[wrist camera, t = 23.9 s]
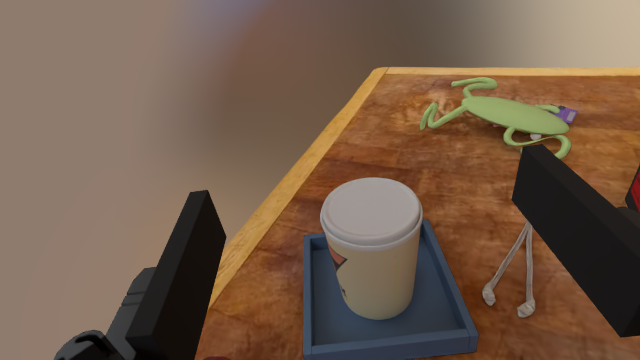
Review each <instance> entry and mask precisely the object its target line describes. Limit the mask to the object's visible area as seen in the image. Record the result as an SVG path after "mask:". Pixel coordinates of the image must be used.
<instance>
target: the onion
mask: <svg viewBox="0 0 640 360" xmlns="http://www.w3.org/2000/svg"><path fill="white" fill-rule="evenodd" d="M203 360H230V359H229V358H226V357H207V358H205V359H203Z"/></svg>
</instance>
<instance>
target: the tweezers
mask: <svg viewBox="0 0 640 360" xmlns="http://www.w3.org/2000/svg"><path fill="white" fill-rule="evenodd" d="M532 230H533V226H532V225H531V224H530V223H529V221H528V220H527V222H526V224H525V226H524V228H523V230H522V232H521V233H520V236H519V237H518V239H517V241H516V243H515V244H514V246H513V247H512V249H511V250H510V252H509V253H508V255H507V256H506V258H505V259H504V261H503V262H502V264H501V265H500V267H499V269H498V271H497V273H496V274H495V276H494V277H493V279H492V280H491V281H490V282H489V283H487V284H486V285H485V287H484V289H483V293H482V294H483V298H484V300H485V302H486V303H487V304H488V305H490V306H492V305H493V303H494V302H495V301H496V299H495V296H494V293H493V291H492V290H493V289H494V287H495V285H496V284H497V282H498V280H499V279H500V278H501V276H502V275H503V273H504V271H505V269H506V267H507V266H508V264H509V263H510V261H511V260H512V258H513V256H514V255H515V253H516V252H517V250H518V249H519V247H520V245H521V243H522V242H523V240H524V238H525V236H526V233H527V238H526V257H527V279H526V289H527V291H526V302H525V303H524V304H522V305H521V306H520V307H517V310H518V316H519V317H526V316H529V315H531V314H532V313H533V310H535V300H534V298H533V290H532V278H533V262H532ZM497 275H498V276H497ZM496 276H497V277H496ZM495 277H496V279H495ZM494 279H495V280H494ZM530 286H531V293H530Z"/></svg>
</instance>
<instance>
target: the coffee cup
mask: <svg viewBox="0 0 640 360" xmlns="http://www.w3.org/2000/svg"><path fill="white" fill-rule="evenodd" d="M320 219H321V225H322V228H323V230H324V232H325V235H326V239H327V243H328V246H329V250H330V254H331V257H332V261H333V264H334V268H335V271H336V275H337V279H338V282H339V286H340V289H341V292H342V295H343V298H344V301H345V302H346V304H347V305H348V307H349V308H350V309H351V310H352V311H353V312H355V313H356V314H358V315H359V316H362V317H364V318H368V319H373V320H384V319H389V318H392V317H395V316H397V315H398V314H400V313H401V312H403V311H404V310H405V309H406V308H407V306H408V305H409V303H410V301H411V299H412V295H413V289H414V281H415V272H416V264H417V255H418V246H419V237H420V226H421V224H422V220H423V209H422V205H421V203H420V201H419V200H418V198H417V196H416V195H415V193H414V192H413V191H412V190H411V189H410V188H408V187H407V186H405V185H404V184H402V183H400V182H397V181H394V180H391V179H386V178H362V179H357V180H353V181H350V182H347V183H345V184H343V185H341V186H339V187H337V188H336V189H335V190H333V191H332V192H331V193H330V194H329V195H328V197H327V198H326V200H325V202H324V204H323V207H322V209H321V214H320Z"/></svg>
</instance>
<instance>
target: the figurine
mask: <svg viewBox="0 0 640 360" xmlns="http://www.w3.org/2000/svg"><path fill="white" fill-rule="evenodd" d="M474 83H475V84H474ZM468 84H471V85H469V86H467V87H465V88H464V89H463V95H464V96H465V99H463V100H462V106H460V107H459V108H457V109H456V110H454V111H452V112H451V113H449V114H447V115H445V116H443V117H442V118H440V119H439V120H437V121H435V122H433V119H434V116H435V114H436V112H437V109H438V104H437V103H432V104H431V105H430V106H429V107H428V108H427V110H426V111H425V113H424V115H423V117H422V120H421V123H420V127H419V128H420V129H421V130H423V129H424V128H425V125H426V122H427V119H428V127H429V128H433V129H435V128H437V127H439V126H441V125H443V124H444V123H446V122H447V121H449V120H451V119H453V118H455V117H457V116H458V115H460V114H461V113H463V112H464V111H468V112H470V113H471V114H473V115H475V116H477V117H478V118H481V119H483V120H485V121H488V122H490V123H493V124H494V125H493V127H498V126H502V127H505V128H508V129H507V130H506V132H505V133H504V141H505V143H506V144H507V145H510V146H523V145H528V144H532V143H535V142H538V141H541V140H544V139H548V138H556V139H559V140H560V141H561V143H562V147H561V149H560V150H559V152H557V153H556V154H554V155H555V156H556V157H558V158H559V159H560V160H561V159H562V158H564V157H565V156H566V155H567V154H568V152H569V151H570V148H571V142H570V140H569V138H567V137H565V136H563V135H560V134H564V133H566V132H568V131H569V127H568V124H567V123H572V122H573V120H574V118H575V116H576V114H577V112H578V111H576V110H572V109H569V108H566V107H564V106H559V107H557V106H555V105H552V104H551V105H535V106H531V105H528V104H524V103H521V102H517V101H513V100H508V99H502V98H496V97H486V96H473V95H472V94H471V93H470V91H472V90H475V89H489V90H492V89H495V88H496V87H497V82H496V81H495V80H493V79H490V78H485V77H480V78H473V79H466V80H461V81H454V82H452V84H451V87H456V86H462V85H468ZM545 110H547V111H549V112H547V111H545ZM565 122H566V123H565ZM515 130H516V131H521V132H524V134H525V136H526V135H527V134H528V133H531V135H530V137H531V139H532V140H533V141H530V142H524V143H517V142H514V141H513V140H512V134H513V132H514V131H515ZM542 135H555V136H551V137H547V138H543V139H540V138H541V136H542ZM521 153H522V148H521V150H520V155H521Z"/></svg>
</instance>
